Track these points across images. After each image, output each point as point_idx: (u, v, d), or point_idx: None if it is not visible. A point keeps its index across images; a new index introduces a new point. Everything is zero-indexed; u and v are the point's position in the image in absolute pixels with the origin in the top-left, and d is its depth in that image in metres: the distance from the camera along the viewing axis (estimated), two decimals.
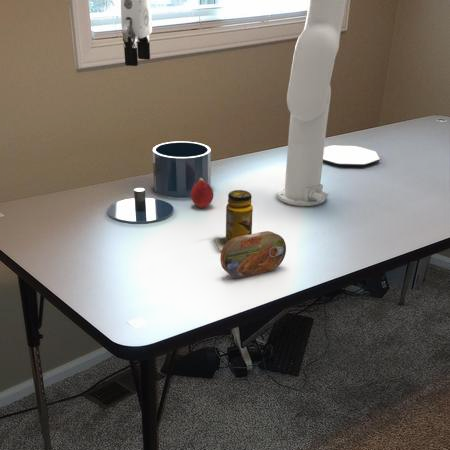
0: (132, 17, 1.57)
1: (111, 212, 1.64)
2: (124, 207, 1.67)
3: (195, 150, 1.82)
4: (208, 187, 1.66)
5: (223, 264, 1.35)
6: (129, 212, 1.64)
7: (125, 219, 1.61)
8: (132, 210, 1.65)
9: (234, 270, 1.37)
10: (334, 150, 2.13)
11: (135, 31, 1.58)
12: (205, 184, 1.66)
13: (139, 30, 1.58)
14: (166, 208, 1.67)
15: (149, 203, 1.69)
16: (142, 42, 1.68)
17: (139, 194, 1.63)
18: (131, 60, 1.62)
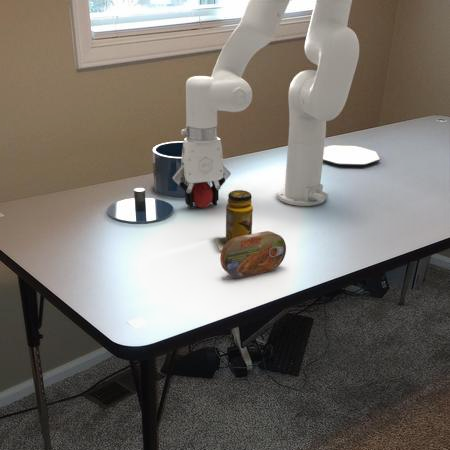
0: (184, 163, 1.61)
1: (111, 212, 1.64)
2: (124, 207, 1.67)
3: None
4: (208, 187, 1.66)
5: (223, 264, 1.35)
6: (129, 212, 1.64)
7: (125, 219, 1.61)
8: (132, 210, 1.65)
9: (234, 270, 1.37)
10: (334, 150, 2.13)
11: None
12: (205, 184, 1.66)
13: (187, 176, 1.62)
14: (166, 208, 1.67)
15: (149, 203, 1.69)
16: (212, 188, 1.69)
17: (139, 194, 1.63)
18: (186, 202, 1.68)
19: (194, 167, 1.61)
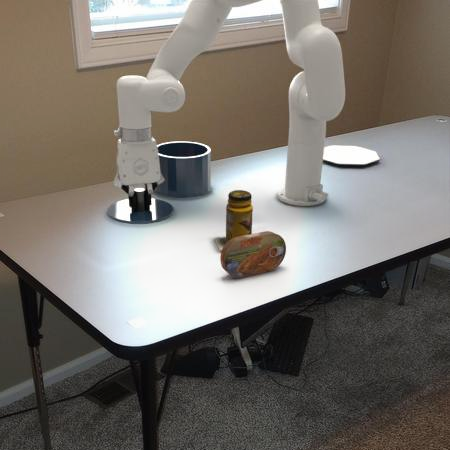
0: (118, 165, 1.57)
1: (111, 212, 1.64)
2: (124, 207, 1.67)
3: (195, 150, 1.82)
4: None
5: (223, 264, 1.35)
6: (129, 212, 1.64)
7: (125, 219, 1.61)
8: (132, 210, 1.65)
9: (234, 270, 1.37)
10: (334, 150, 2.13)
11: None
12: None
13: (122, 178, 1.58)
14: (166, 208, 1.67)
15: None
16: (145, 192, 1.65)
17: (139, 194, 1.63)
18: (130, 205, 1.64)
19: (129, 169, 1.57)
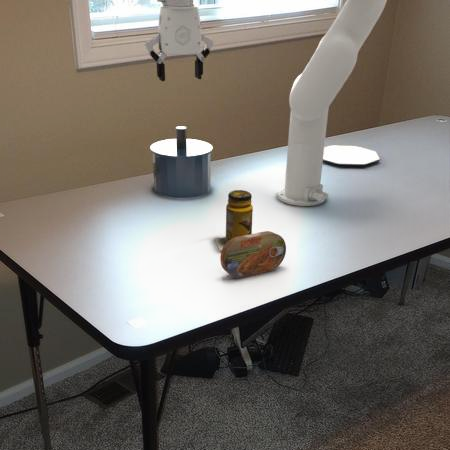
0: (160, 33, 1.57)
1: (154, 149, 1.73)
2: (166, 145, 1.76)
3: None
4: None
5: (223, 264, 1.35)
6: (171, 149, 1.73)
7: (168, 154, 1.69)
8: (174, 148, 1.74)
9: (233, 270, 1.37)
10: (334, 150, 2.13)
11: (161, 47, 1.58)
12: None
13: (164, 46, 1.57)
14: (205, 146, 1.76)
15: (189, 143, 1.78)
16: (197, 60, 1.64)
17: (181, 132, 1.72)
18: (158, 75, 1.62)
19: (171, 37, 1.56)
